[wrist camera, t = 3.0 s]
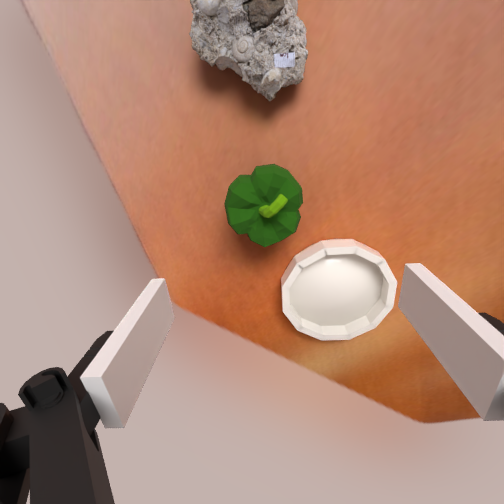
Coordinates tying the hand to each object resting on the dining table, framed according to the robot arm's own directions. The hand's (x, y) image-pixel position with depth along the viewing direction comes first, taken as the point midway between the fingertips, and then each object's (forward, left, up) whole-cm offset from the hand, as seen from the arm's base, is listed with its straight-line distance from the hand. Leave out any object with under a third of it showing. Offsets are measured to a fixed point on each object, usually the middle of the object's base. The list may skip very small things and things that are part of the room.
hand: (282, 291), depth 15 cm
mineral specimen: (-17, -1, -22) cm, 27 cm away
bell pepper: (-1, -1, -21) cm, 21 cm away
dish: (+13, +8, -21) cm, 26 cm away
